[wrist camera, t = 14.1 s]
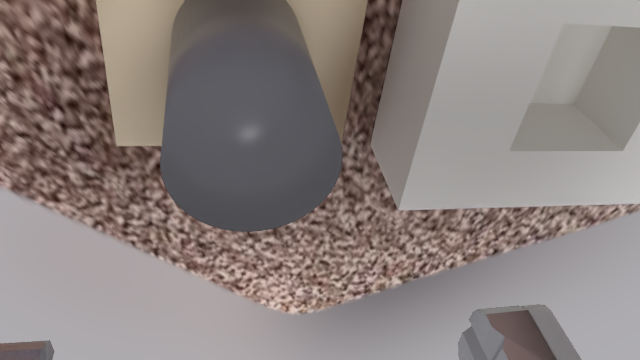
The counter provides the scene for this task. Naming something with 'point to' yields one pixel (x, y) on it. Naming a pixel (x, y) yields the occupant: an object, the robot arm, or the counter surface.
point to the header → (511, 104)
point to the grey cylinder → (245, 117)
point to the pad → (154, 53)
